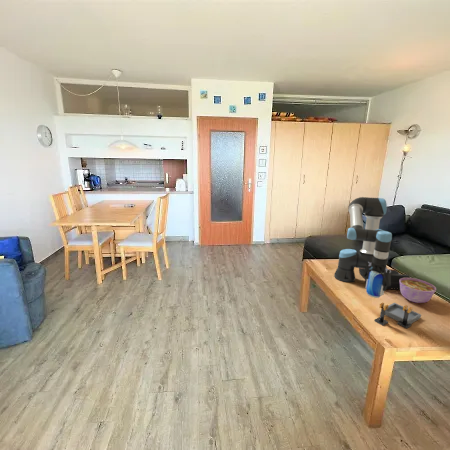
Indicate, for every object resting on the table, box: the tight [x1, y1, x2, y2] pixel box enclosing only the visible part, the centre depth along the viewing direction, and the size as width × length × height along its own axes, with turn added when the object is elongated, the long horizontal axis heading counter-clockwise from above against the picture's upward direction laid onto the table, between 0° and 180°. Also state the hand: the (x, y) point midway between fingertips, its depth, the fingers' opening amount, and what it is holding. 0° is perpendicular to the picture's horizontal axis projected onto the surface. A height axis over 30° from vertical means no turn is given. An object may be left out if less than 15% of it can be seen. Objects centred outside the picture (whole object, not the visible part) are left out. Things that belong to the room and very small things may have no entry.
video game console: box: [358, 268, 411, 291], centre depth 196 cm, size 28×25×10 cm
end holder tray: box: [384, 302, 422, 324], centre depth 154 cm, size 15×15×2 cm
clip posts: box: [374, 302, 413, 330], centre depth 145 cm, size 13×14×11 cm
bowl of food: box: [399, 277, 437, 304], centre depth 171 cm, size 20×20×12 cm
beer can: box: [365, 271, 384, 299], centre depth 155 cm, size 8×8×16 cm
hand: (374, 291), depth 157 cm, fingers closed on beer can, 8 cm apart
